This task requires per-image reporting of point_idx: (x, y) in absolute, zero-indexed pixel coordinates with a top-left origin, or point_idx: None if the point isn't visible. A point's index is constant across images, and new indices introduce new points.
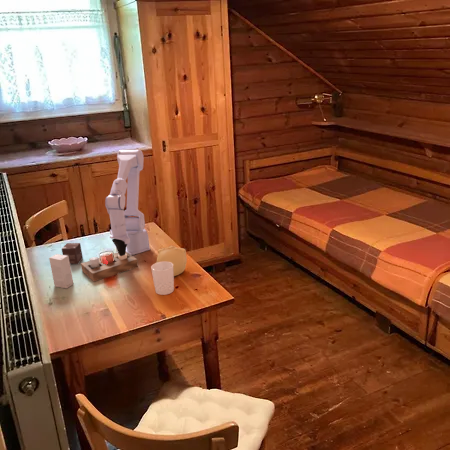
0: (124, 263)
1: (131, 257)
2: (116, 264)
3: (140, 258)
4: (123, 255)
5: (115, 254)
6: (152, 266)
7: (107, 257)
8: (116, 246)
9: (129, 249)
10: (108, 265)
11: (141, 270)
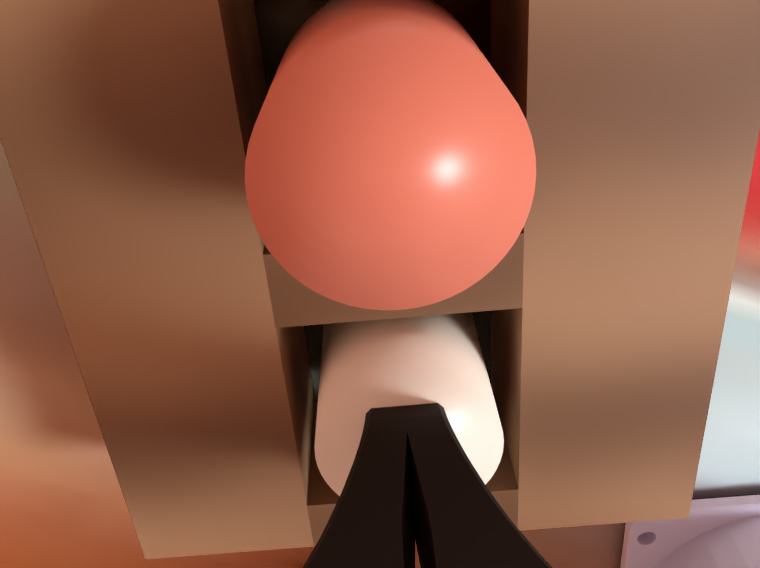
0: (76, 347)
1: (276, 518)
2: (90, 198)
3: None
4: None
5: (641, 351)
6: None
7: (265, 105)
8: (459, 565)
9: (748, 564)
10: (129, 10)
11: (31, 448)
